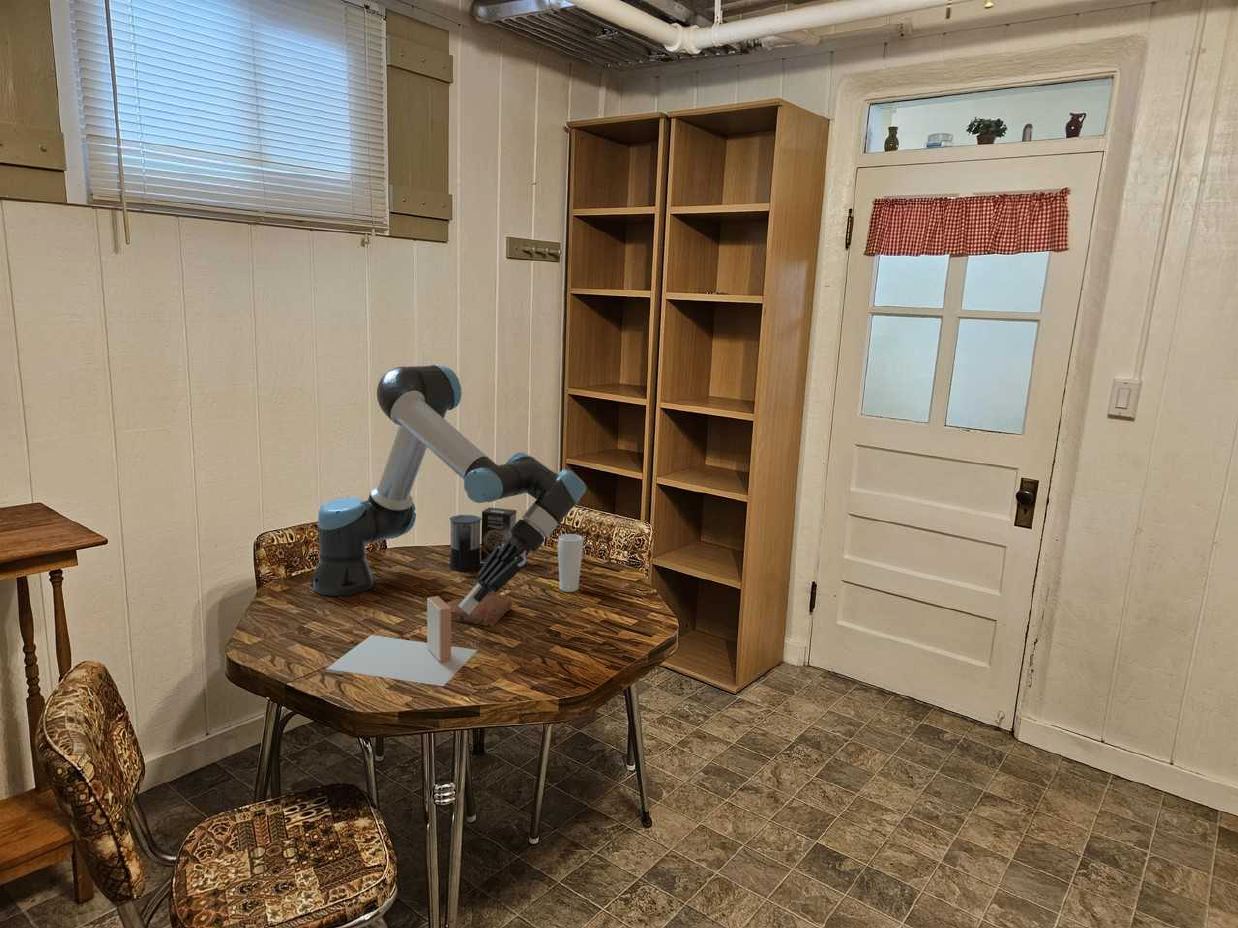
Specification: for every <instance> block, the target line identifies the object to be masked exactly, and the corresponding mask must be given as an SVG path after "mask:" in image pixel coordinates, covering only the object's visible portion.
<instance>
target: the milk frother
mask: <svg viewBox="0 0 1238 928" xmlns="http://www.w3.org/2000/svg"><path fill="white" fill-rule="evenodd" d="M449 520H450V558H449V565H450V566H449V568H450V567H451V568H452V569H451V568H450V569H451V570H454V569H456V570H455V571H459V570H465V572H470V571H469V570H471V571H475V570H478V569H481V568H482V567H483V565H484V564H485V563H481V521H482V517H481V516H478V515H472V514H459V515H453V516H451V517H450V518H449ZM467 570H468V571H467Z"/></svg>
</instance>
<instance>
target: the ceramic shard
mask: <svg viewBox="0 0 1238 928" xmlns="http://www.w3.org/2000/svg"><path fill="white" fill-rule="evenodd" d="M465 597H466V596H464V597H460V598H456V599H454V600H450V601H448V602H446V604H447V605H448V606H449V607H451V621H452V622H453V621H455V622H459V623H460V622H462V623H470V624H476V625H480V626H485V627H491V628H494V626H496V624H497V623H498V622H499V621H500V620H501V618H502V617H504V615H505V614H506V613H507V612H509V611H510V610H511V609H512V607H513V603H512V601H511V600H510V599H508V598H506V597H505V596H501V595H497V594H496V595H495V594H487V595H486V596H485V597H484V598H483V599H482V600H481V601H480V602H479V604H478V605H477V606H476V607H475V608H474V609H473V611H472V612H471V613H470V614H469V615H468V614H467V613H466V612H465V611H464V610H462V609H461V608H460V607H459V606H458V605H459V604H460V603H461V602H462V601H463V600H464V598H465Z"/></svg>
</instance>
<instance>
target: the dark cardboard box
mask: <svg viewBox="0 0 1238 928" xmlns="http://www.w3.org/2000/svg"><path fill="white" fill-rule="evenodd" d="M516 523H517V510H516V509H509V508H508V509H507V508H498V507H487V508H485V509H484V510H482V511H481V533H480V563H481V562H486V561H487V559H488V558H489V556H490V555H491V553H492V552H493V550H494V548H495V545H496V544H497V543H498V542H500V543H501V544H504V543H505V542H506V541H507V540H508V539H509V538H511V537H512V533H511V529H512V528H513V526H514V525H515V524H516Z"/></svg>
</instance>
